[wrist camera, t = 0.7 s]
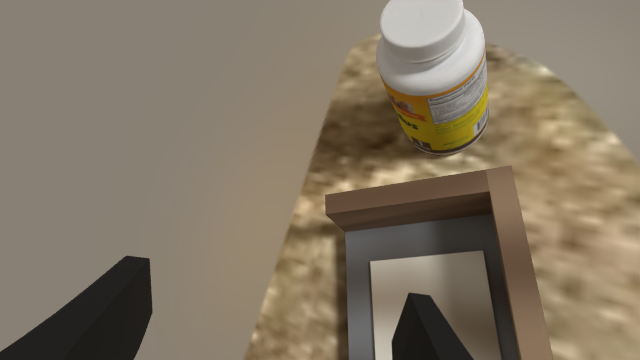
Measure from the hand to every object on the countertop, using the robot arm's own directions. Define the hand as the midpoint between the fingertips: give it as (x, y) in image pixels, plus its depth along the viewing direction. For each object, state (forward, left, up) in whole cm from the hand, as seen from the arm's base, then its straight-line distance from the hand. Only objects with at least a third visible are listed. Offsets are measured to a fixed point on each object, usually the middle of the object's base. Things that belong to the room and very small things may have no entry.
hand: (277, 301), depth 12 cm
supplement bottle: (+14, -5, -15) cm, 21 cm away
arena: (+3, -3, -15) cm, 15 cm away
